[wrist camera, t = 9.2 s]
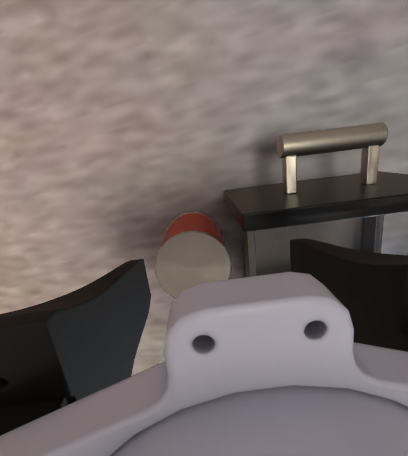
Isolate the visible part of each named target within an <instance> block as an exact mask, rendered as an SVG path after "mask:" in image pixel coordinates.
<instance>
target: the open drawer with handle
mask: <svg viewBox="0 0 408 456" xmlns="http://www.w3.org/2000/svg"><path fill="white" fill-rule="evenodd" d="M387 137H388V128H387V126H386V125H385V124H384V123H375V124H366V125H358V126H350V127H342V128H334V129H326V130H317V131H309V132H301V133H293V134H285V135H280V136H278V139H277V154H278V156H279V158H282V163H283V183H281V184H273V185H265V186H257V187H249V188H241V189H233V190H225V191H224V197H225V202H226V204H227V206H228V207H229V209H230V211H231V212H232V214H233V216H234V217H235V219H236V221H237V222H238V224H239V225H240V227H241V229H242V231H243V244H244V257H245V269H246V277H253V276H260V275H268V274H276V273H284V272H291V266H290V240H293V239H301V238H306V239H312V240H316V241H320V242H324V243H328V244H332V245H336V246H341V247H345V248H350V249H355V250H360V251H366V252H373V253H381V243H382V232H383V220H384V215H387V214H395V213H403V212H408V175H407V174H398V173H389V172H380V171H379V172H378V160H379V146H381V145H383V144H384V143H385V142H386V140H387ZM361 148H362V158H361V174H355V175H347V176H339V177H330V178H322V179H314V180H306V181H298V182H297V167H296V156H304V155H312V154H320V153H328V152H337V151H345V150H353V149H361Z"/></svg>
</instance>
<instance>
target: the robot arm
mask: <svg viewBox="0 0 408 456" xmlns="http://www.w3.org/2000/svg"><path fill="white" fill-rule="evenodd" d="M290 266H291V272H284V273H276V274H268V275H260V276H253V277H245V278H237V279H229V280H222V281H214V282H206V283H201V284H198V285H196V286H193V287H190V288H188V289H185V290H183V291H182V292H181V293H180V294H179V296H178V297H177V298H176V299H175V300H174V302H173V303H172V304H171V307H170V313H169V320H168V326H167V333H166V341H165V349H164V357H165V361H164V362H162V363H160V364H158V365H155V366H153V367H151V368H149V369H147V370H144V371H142V372H140V373H138V374H136V375H133V376H131V374H132V369H133V364H134V359H135V355H136V351H137V348H138V345H139V342H140V339H141V335H142V332H143V329H144V326H145V323H146V319H147V316H148V313H149V307H150V299H151V294H150V289H149V284H148V279H147V274H146V270H145V265H144V260H143V259H139V260H131V261H128V262H126V263H124V264H122V265H121V266H119V267H117V268H116V269H114V270H112V271H111V272H109V273H107V274H106V275H104V276H102V277H101V278H99V279H97V280H95V281H94V282H92V283H90V284H88V285H86V286H84V287H82V288H80V289H78V290H76V291H73V292H71V293H69V294H67V295H64V296H61V297H58V298H56V299H53V300H50V301H48V302H45V303H42V304H38V305H35V306H32V307H28V308H25V309H21V310H17V311H13V312H9V313H4V314H0V456H408V256H407V255H391V254H381V253H373V252H366V251H360V250H355V249H350V248H345V247H341V246H336V245H332V244H328V243H324V242H320V241H316V240H312V239H306V238H301V239H293V240H290Z"/></svg>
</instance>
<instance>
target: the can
mask: <svg viewBox="0 0 408 456" xmlns="http://www.w3.org/2000/svg"><path fill="white" fill-rule="evenodd" d="M155 273H156V277H157V280H158V282H159V284H160V285H161V287H162V288H163V289H164V290H165V291H166V292H167V293H168V294H170V295H171V296H173V297H174V298H177V297H178V296H179V294H180V293H181V292H182V291H183V290H185V289H188V288H190V287H193V286H196V285H198V284H201V283H206V282H214V281H222V280H228V279H229V277H230V273H231V260H230V257H229V254H228V251H227V249H226V247H225V244H224V241H223V238H222V233H221V230H220V227H219V225H218V224H217V222H216V221H215V220H214V219H213V218H212V217H210V216H209V215H207V214H205V213H202V212H196V211H190V212H185V213H182V214H180V215H178V216H177V217H175V218H174V219H173V220H172V221H171V222H170V223H169V225H168V227H167V229H166V232H165V236H164V239H163V242H162V245H161V248H160V250H159V252H158V254H157V257H156V261H155Z"/></svg>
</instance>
